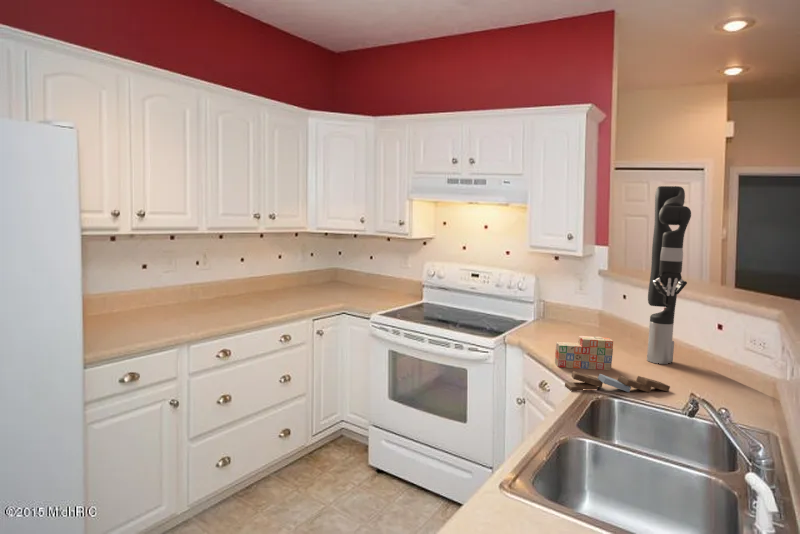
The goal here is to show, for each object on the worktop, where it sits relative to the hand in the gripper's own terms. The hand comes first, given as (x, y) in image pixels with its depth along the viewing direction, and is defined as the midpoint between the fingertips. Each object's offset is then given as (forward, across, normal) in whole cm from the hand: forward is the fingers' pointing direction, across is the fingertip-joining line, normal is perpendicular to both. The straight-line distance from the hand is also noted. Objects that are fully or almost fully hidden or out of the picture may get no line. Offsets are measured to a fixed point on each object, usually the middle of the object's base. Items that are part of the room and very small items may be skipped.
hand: (667, 305), depth 200 cm
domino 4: (+28, -5, -11) cm, 31 cm away
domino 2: (+28, -20, -12) cm, 36 cm away
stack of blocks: (+29, -24, +18) cm, 42 cm away
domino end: (+29, -31, -10) cm, 43 cm away
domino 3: (+28, -13, -12) cm, 33 cm away
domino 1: (+27, -29, -9) cm, 41 cm away
